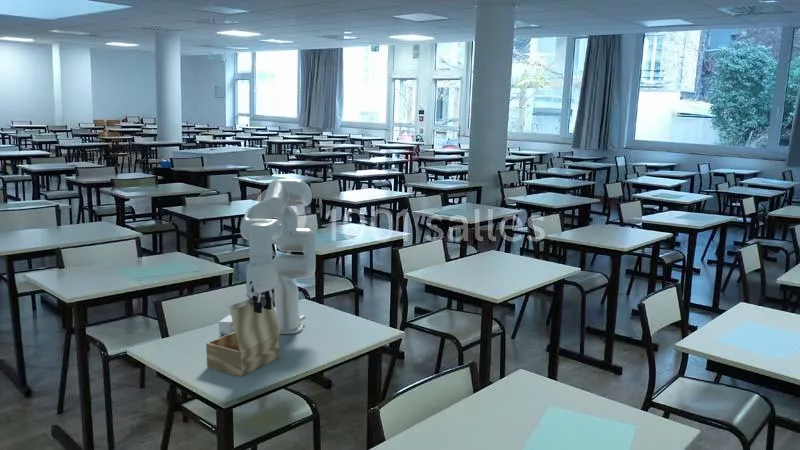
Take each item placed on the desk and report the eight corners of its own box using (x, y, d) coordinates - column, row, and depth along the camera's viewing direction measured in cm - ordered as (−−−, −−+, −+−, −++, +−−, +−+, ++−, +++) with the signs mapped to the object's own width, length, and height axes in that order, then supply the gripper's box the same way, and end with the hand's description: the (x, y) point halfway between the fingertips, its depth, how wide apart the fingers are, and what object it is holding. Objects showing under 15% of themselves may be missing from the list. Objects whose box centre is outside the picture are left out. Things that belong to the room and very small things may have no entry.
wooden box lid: (268, 291, 228) (282, 289, 224) (279, 334, 228) (292, 332, 225) (228, 305, 211) (242, 303, 208) (240, 351, 212) (253, 349, 208)
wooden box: (247, 349, 238) (247, 326, 236) (280, 358, 230) (279, 334, 228) (207, 367, 221) (206, 343, 219) (240, 377, 213) (239, 352, 211)
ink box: (229, 343, 244) (228, 314, 242) (241, 344, 243) (240, 315, 241) (219, 351, 236) (217, 321, 234) (231, 352, 235) (230, 322, 233)
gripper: (269, 253, 223) (271, 303, 226) (235, 262, 209) (237, 315, 212) (286, 255, 219) (287, 306, 222) (251, 265, 205) (253, 319, 208)
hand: (262, 310), depth 217 cm, fingers closed on wooden box lid, 4 cm apart
